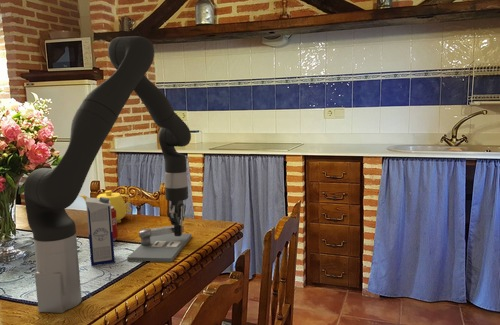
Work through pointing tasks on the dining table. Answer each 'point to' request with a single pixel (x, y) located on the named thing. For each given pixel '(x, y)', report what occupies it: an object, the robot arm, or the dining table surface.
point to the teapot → (115, 203)
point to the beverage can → (114, 223)
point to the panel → (159, 248)
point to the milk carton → (100, 231)
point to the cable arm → (157, 231)
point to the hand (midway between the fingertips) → (178, 235)
